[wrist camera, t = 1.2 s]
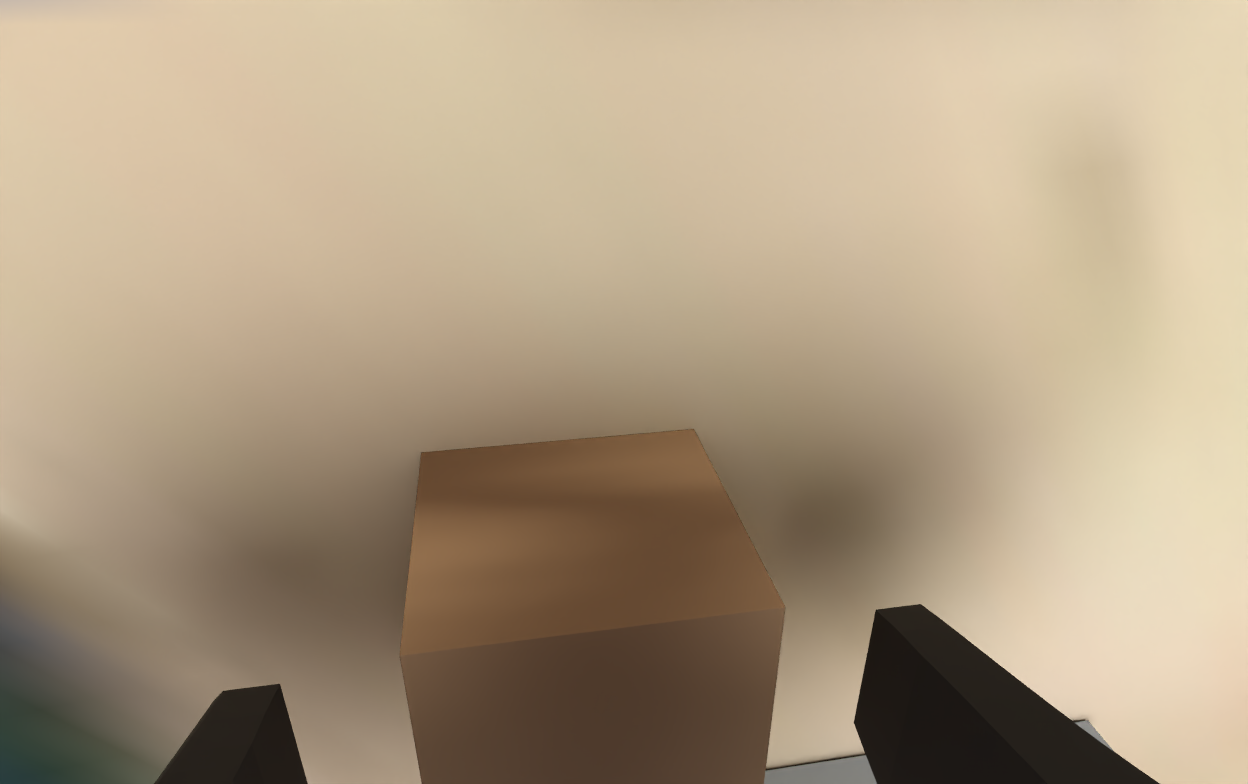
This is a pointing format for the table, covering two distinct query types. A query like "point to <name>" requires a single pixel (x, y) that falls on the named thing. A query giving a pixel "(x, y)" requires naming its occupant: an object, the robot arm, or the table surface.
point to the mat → (850, 769)
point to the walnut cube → (586, 617)
